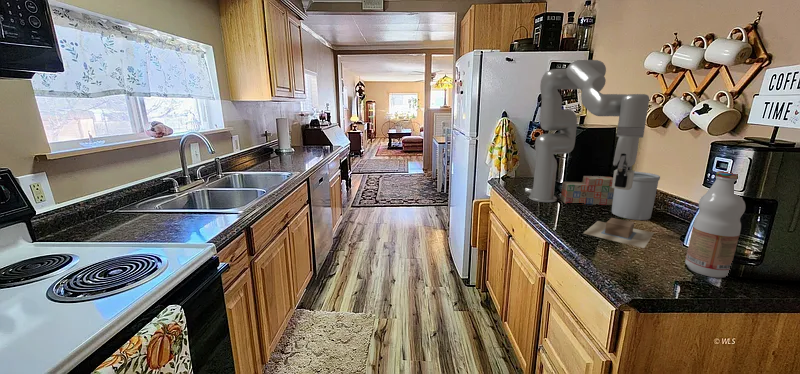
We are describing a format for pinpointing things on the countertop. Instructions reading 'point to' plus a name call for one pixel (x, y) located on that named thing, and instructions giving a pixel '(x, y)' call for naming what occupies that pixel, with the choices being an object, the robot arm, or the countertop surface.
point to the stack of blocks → (589, 191)
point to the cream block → (629, 180)
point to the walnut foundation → (619, 227)
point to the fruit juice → (716, 228)
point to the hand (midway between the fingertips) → (622, 185)
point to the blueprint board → (635, 239)
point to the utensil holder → (636, 197)
